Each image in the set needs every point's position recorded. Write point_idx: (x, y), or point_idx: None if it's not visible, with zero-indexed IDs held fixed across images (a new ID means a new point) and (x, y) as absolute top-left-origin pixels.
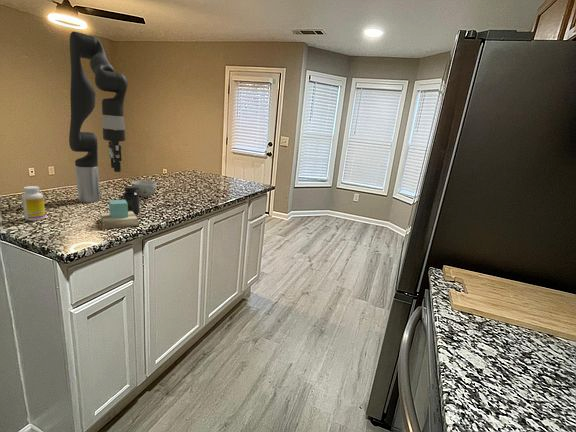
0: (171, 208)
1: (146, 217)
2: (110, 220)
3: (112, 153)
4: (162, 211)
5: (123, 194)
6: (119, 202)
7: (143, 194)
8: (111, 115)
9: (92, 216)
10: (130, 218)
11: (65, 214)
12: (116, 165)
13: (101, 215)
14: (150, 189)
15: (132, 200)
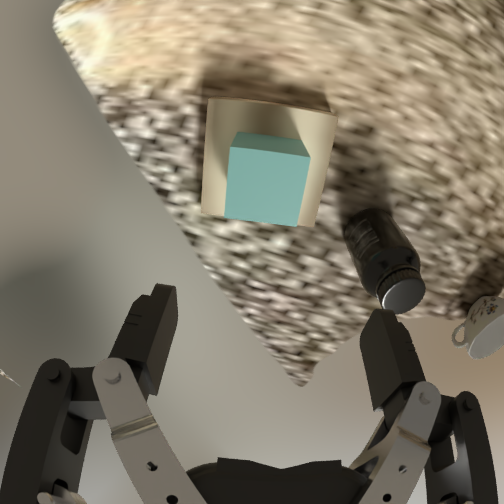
0: (341, 331)
1: (287, 251)
2: (211, 122)
3: (125, 465)
4: (326, 306)
5: (401, 249)
6: (250, 190)
7: (474, 308)
8: None
9: (385, 101)
10: (213, 192)
11: (441, 44)
12: (121, 340)
13: (310, 110)
14: (466, 334)
15: (358, 258)
